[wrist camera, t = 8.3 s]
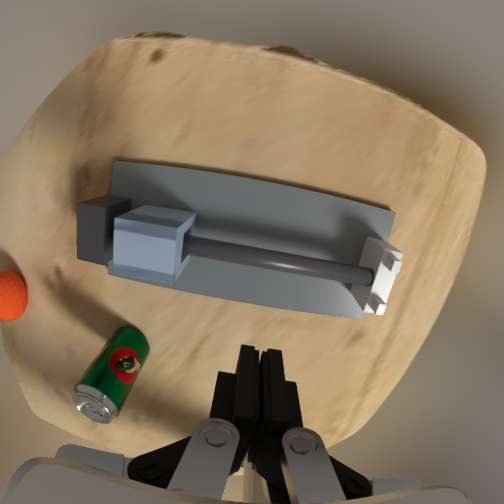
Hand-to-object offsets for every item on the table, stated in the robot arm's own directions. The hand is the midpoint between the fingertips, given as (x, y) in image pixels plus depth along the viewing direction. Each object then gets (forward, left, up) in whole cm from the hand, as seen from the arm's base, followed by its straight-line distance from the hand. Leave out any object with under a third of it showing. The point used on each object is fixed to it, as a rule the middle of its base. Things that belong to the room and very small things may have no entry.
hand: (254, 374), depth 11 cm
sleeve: (+1, +9, -16) cm, 18 cm away
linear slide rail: (+1, +2, -17) cm, 17 cm away
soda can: (-14, +13, -17) cm, 25 cm away
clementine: (-11, +33, -17) cm, 39 cm away
